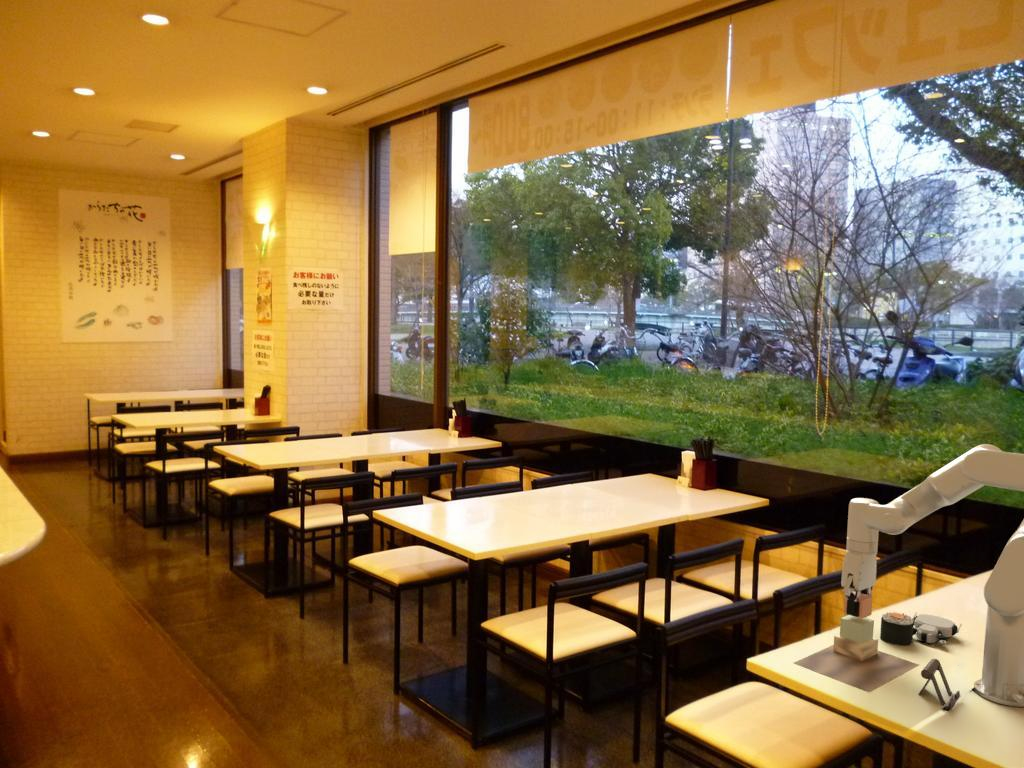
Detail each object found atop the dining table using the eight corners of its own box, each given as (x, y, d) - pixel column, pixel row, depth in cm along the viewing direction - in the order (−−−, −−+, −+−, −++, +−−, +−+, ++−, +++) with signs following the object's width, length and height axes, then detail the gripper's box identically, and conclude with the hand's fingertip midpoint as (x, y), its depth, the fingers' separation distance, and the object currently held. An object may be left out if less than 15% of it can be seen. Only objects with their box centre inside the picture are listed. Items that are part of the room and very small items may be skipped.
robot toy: (947, 654, 219) (962, 635, 230) (947, 639, 219) (962, 620, 230) (899, 641, 228) (915, 624, 238) (899, 626, 227) (916, 609, 238)
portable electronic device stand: (950, 713, 184) (953, 677, 183) (913, 701, 189) (915, 667, 189) (959, 700, 191) (962, 665, 190) (923, 689, 196) (925, 656, 195)
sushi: (877, 644, 223) (879, 616, 222) (883, 635, 230) (885, 607, 229) (909, 651, 218) (911, 623, 217) (915, 642, 225) (917, 614, 224)
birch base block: (877, 653, 214) (878, 638, 214) (862, 660, 209) (863, 645, 209) (848, 643, 220) (849, 629, 220) (833, 650, 215) (834, 635, 215)
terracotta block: (871, 614, 213) (872, 596, 213) (861, 618, 210) (863, 600, 210) (853, 609, 217) (854, 591, 217) (843, 613, 214) (844, 594, 214)
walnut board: (919, 668, 208) (919, 664, 208) (868, 696, 191) (868, 692, 191) (845, 642, 223) (845, 639, 223) (792, 666, 207) (793, 662, 207)
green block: (872, 638, 214) (874, 620, 213) (861, 643, 210) (862, 625, 210) (851, 631, 218) (852, 613, 218) (839, 636, 215) (840, 618, 214)
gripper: (864, 537, 220) (860, 602, 222) (831, 547, 210) (827, 615, 211) (891, 543, 215) (887, 610, 216) (859, 554, 204) (855, 624, 205)
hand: (857, 612), depth 214 cm, fingers closed on terracotta block, 4 cm apart
